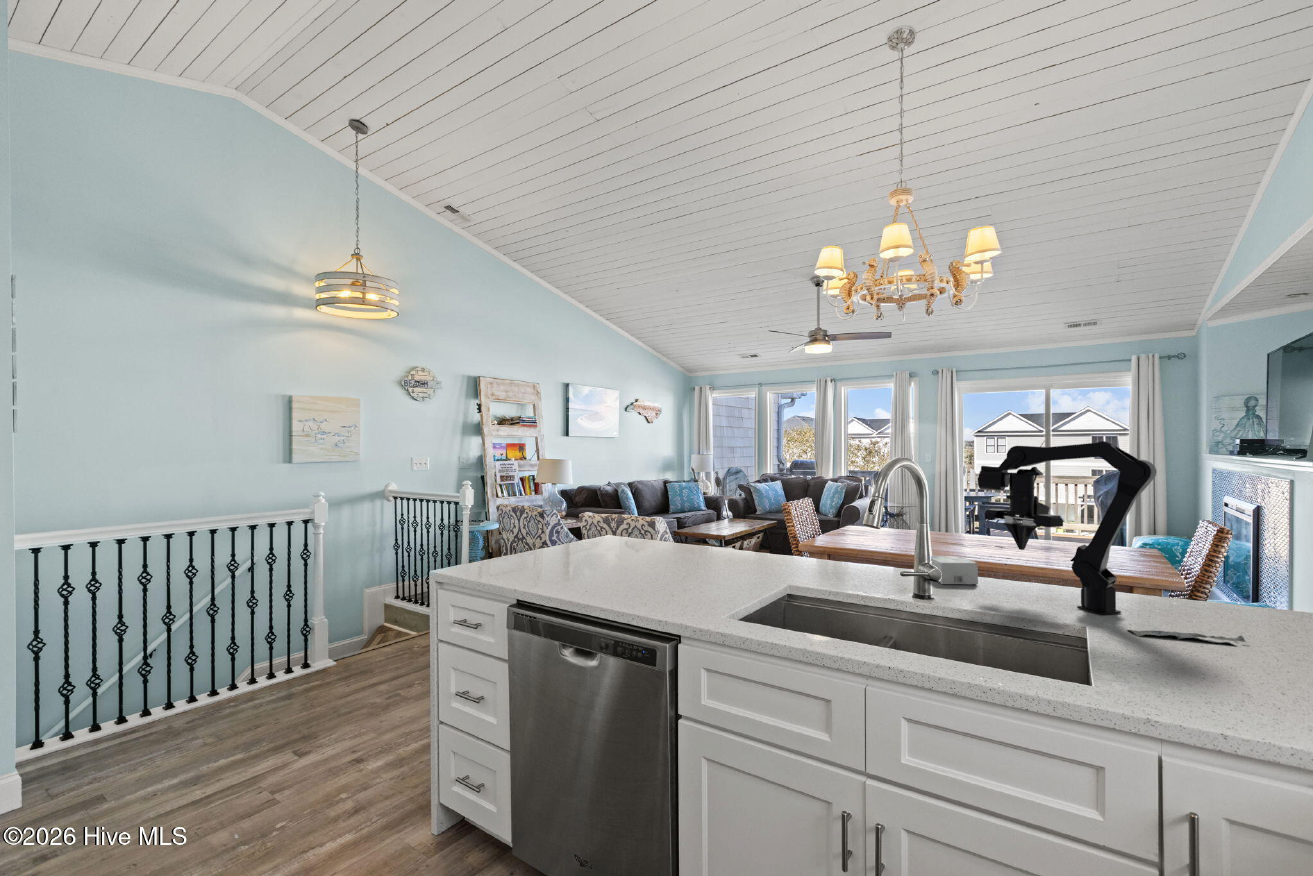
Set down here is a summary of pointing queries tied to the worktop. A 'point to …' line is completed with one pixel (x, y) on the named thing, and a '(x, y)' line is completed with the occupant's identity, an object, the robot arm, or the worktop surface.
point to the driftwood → (1189, 636)
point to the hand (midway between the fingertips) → (1021, 549)
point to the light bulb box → (956, 569)
